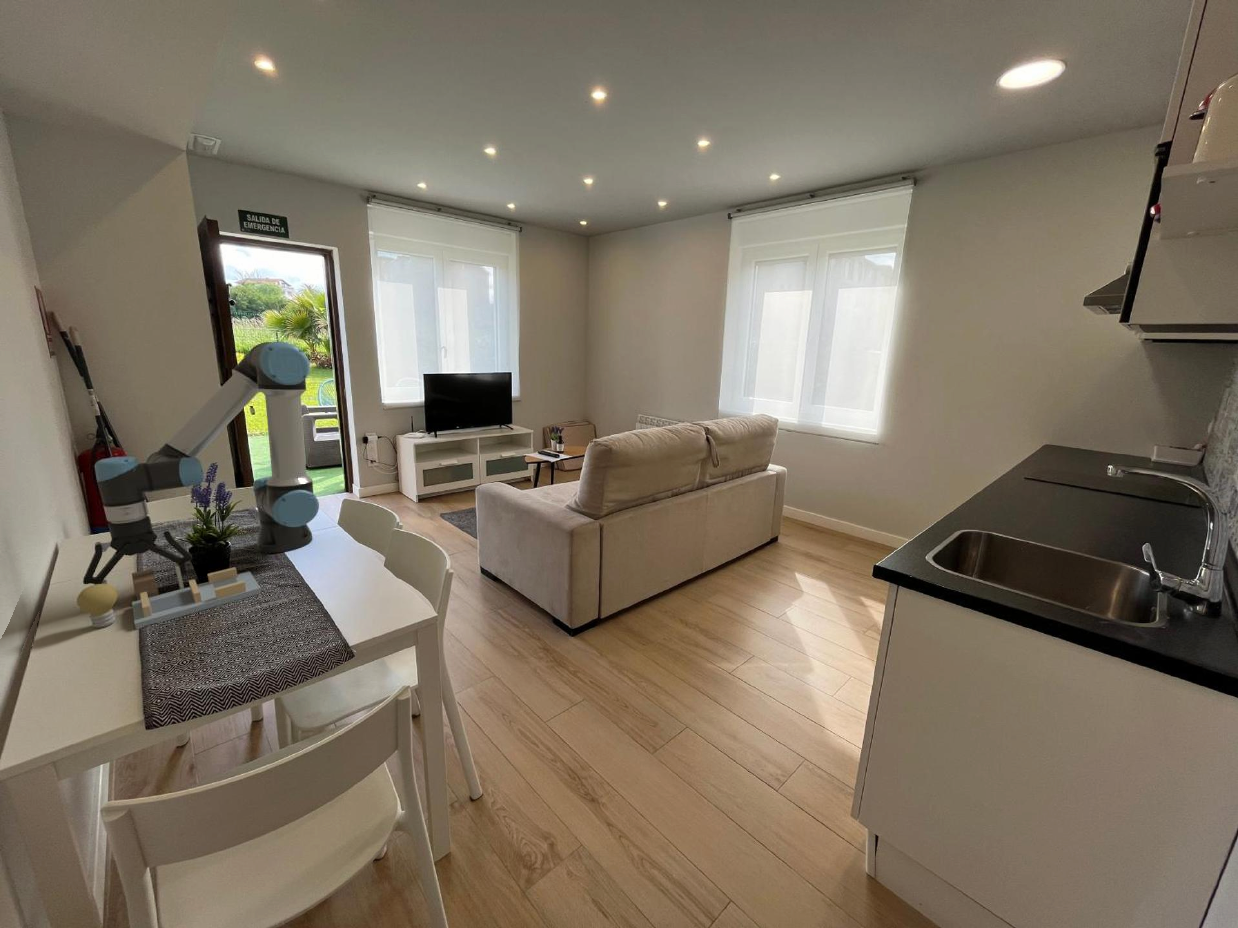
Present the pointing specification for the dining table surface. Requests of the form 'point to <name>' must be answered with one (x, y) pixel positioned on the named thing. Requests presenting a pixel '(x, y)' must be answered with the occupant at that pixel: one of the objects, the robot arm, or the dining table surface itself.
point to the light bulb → (98, 604)
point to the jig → (195, 597)
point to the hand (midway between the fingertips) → (147, 595)
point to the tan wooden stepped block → (145, 583)
